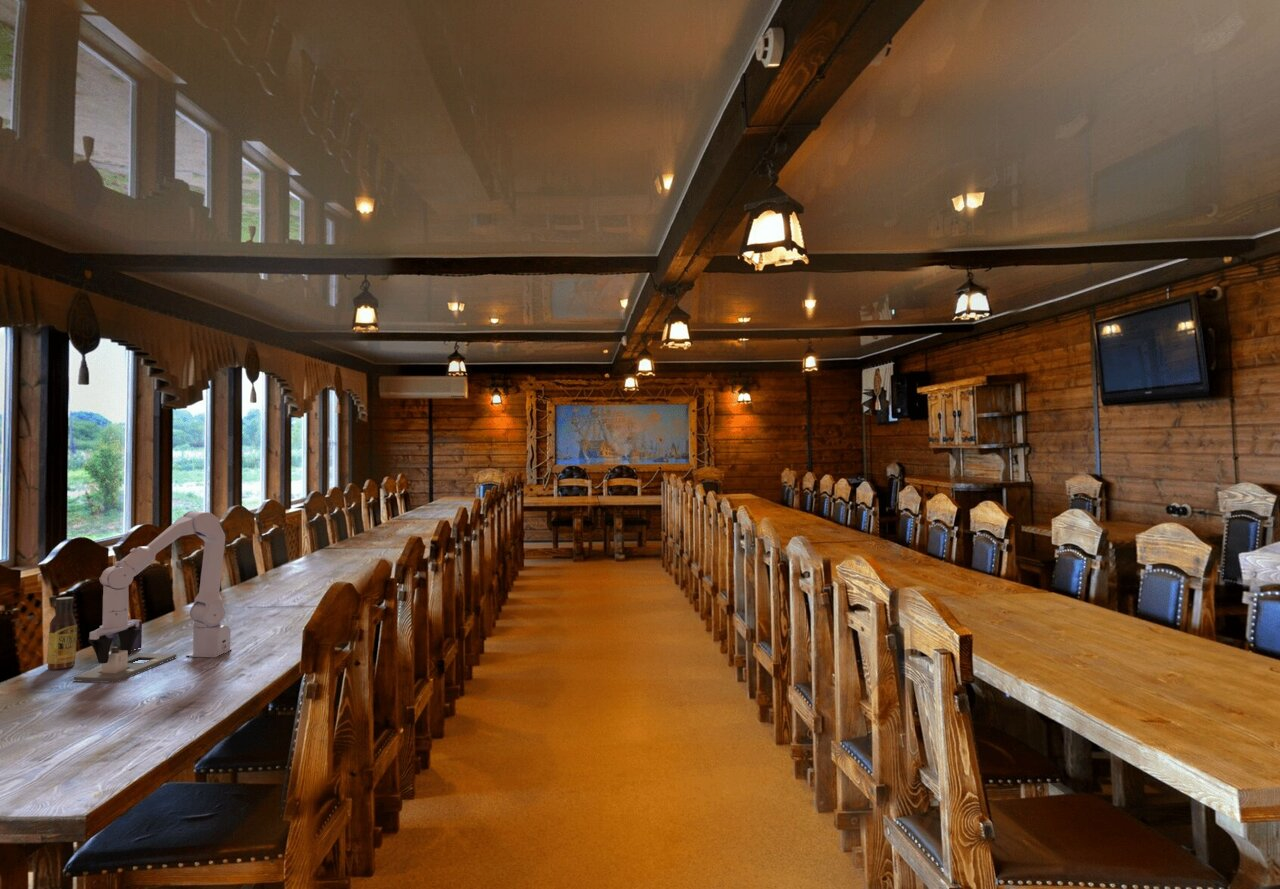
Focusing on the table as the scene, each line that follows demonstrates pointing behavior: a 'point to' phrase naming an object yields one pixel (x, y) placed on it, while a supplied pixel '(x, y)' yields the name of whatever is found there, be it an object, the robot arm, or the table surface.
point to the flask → (137, 641)
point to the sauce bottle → (62, 636)
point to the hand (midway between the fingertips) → (114, 658)
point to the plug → (116, 661)
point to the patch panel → (131, 668)
